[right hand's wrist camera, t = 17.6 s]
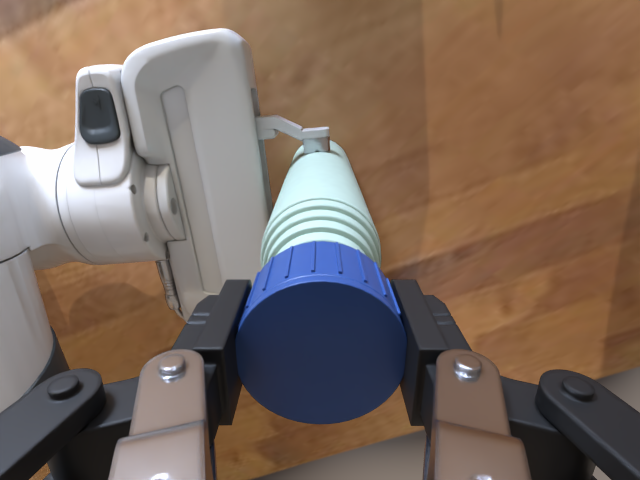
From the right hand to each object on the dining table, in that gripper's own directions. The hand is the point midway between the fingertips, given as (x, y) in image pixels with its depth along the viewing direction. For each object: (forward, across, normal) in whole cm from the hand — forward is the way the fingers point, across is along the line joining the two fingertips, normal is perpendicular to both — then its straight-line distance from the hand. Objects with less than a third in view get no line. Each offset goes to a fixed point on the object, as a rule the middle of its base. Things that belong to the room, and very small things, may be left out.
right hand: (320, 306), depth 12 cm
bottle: (+23, 0, 0) cm, 23 cm away
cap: (-2, 0, 0) cm, 2 cm away
